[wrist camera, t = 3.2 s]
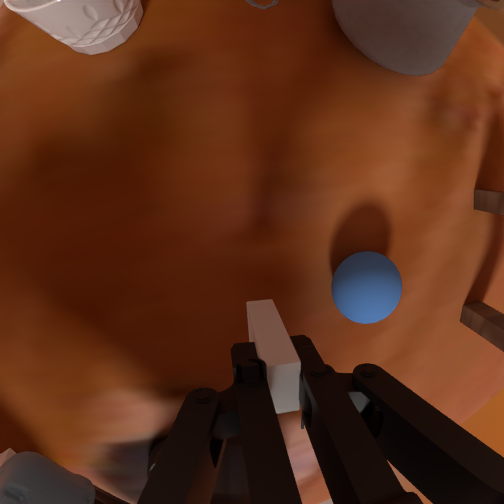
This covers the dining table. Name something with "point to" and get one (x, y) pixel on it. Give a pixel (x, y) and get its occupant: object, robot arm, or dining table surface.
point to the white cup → (83, 21)
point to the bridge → (478, 313)
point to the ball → (366, 287)
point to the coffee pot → (405, 29)
